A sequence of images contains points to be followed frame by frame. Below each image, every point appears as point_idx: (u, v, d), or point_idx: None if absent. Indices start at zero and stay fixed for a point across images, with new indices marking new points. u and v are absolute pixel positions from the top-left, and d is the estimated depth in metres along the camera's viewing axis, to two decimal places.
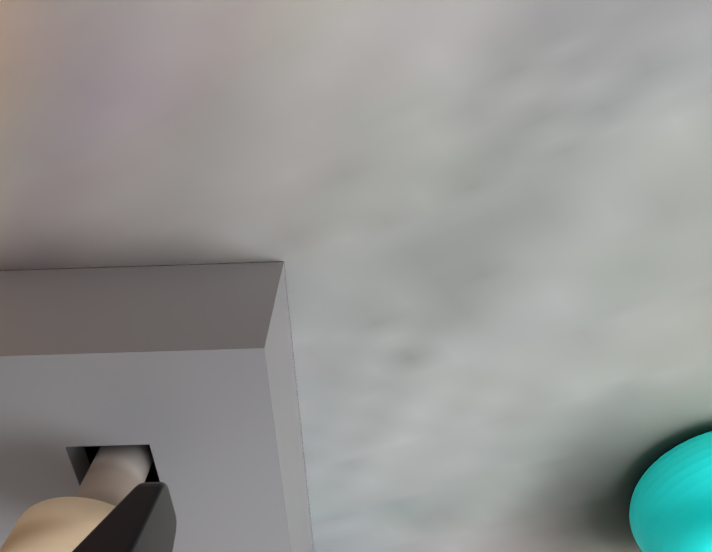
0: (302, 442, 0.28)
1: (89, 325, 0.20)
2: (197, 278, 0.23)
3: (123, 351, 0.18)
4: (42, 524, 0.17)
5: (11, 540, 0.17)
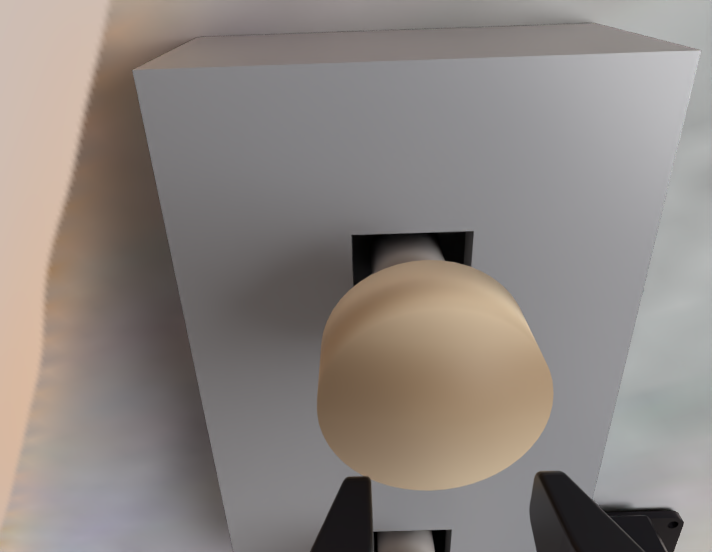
0: None
1: (397, 49, 0.14)
2: (495, 30, 0.16)
3: (482, 59, 0.12)
4: (414, 286, 0.10)
5: (368, 309, 0.10)
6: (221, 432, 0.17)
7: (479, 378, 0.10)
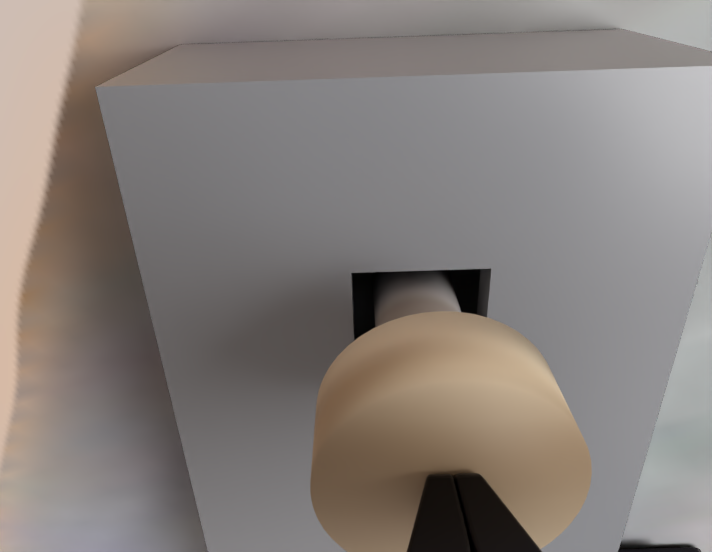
0: None
1: (404, 61, 0.12)
2: (512, 38, 0.15)
3: (504, 74, 0.10)
4: (426, 347, 0.09)
5: (372, 376, 0.09)
6: (206, 485, 0.15)
7: (504, 457, 0.09)
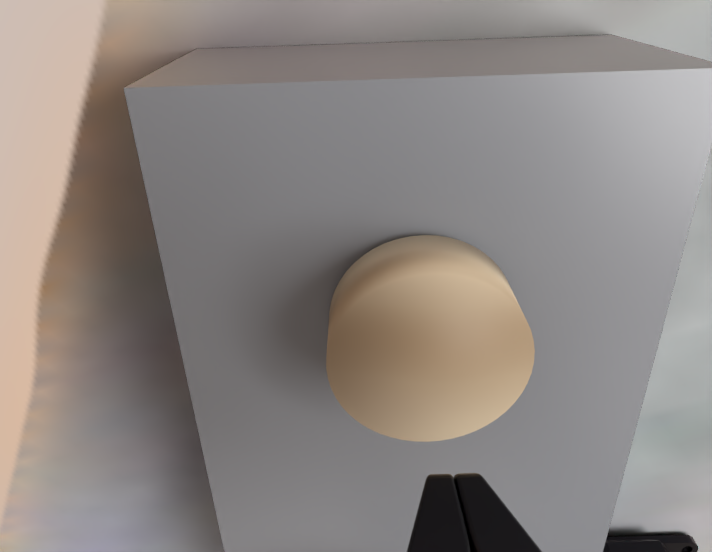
0: None
1: (405, 65, 0.13)
2: (507, 43, 0.15)
3: (497, 76, 0.11)
4: (412, 256, 0.12)
5: (372, 276, 0.12)
6: (219, 463, 0.16)
7: (469, 337, 0.12)
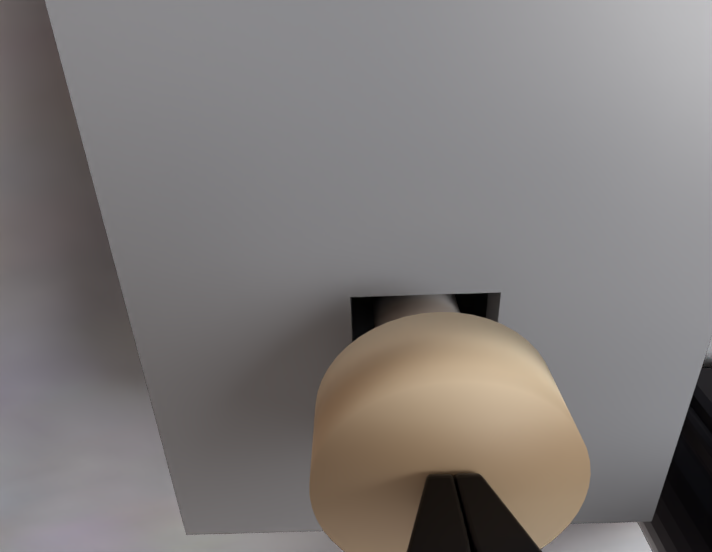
0: None
1: None
2: None
3: None
4: None
5: None
6: (83, 54, 0.09)
7: None
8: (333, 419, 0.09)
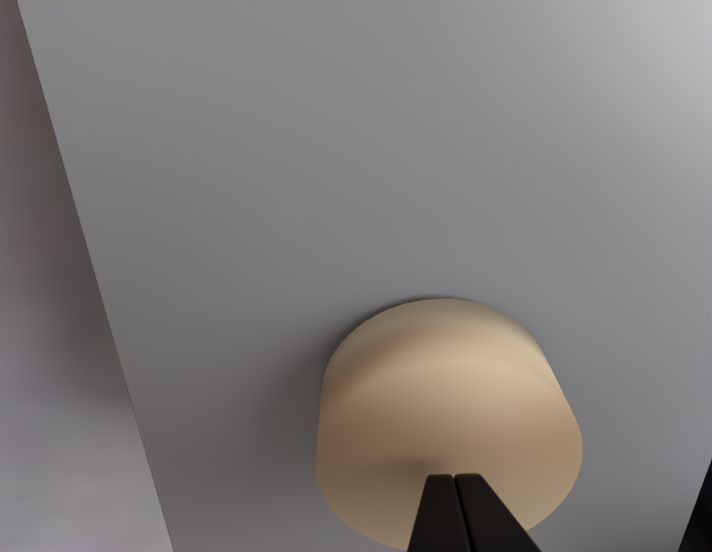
0: None
1: None
2: None
3: None
4: None
5: None
6: (63, 69, 0.08)
7: None
8: (339, 398, 0.09)
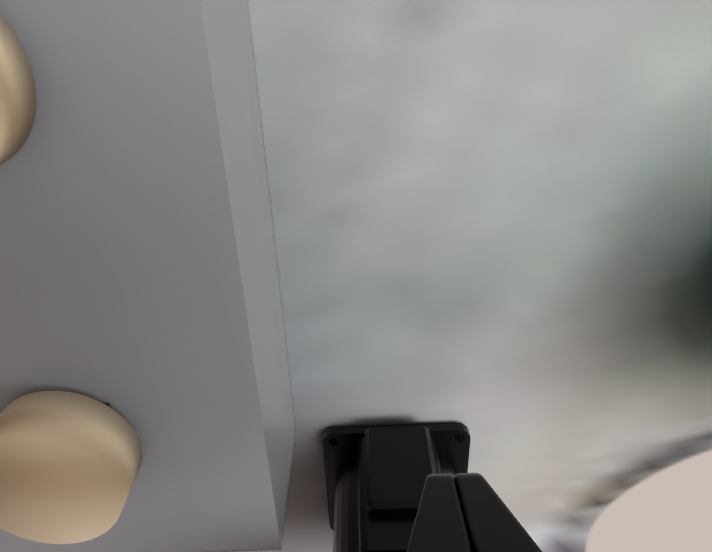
0: (266, 174, 0.20)
1: None
2: None
3: None
4: None
5: None
6: None
7: None
8: None
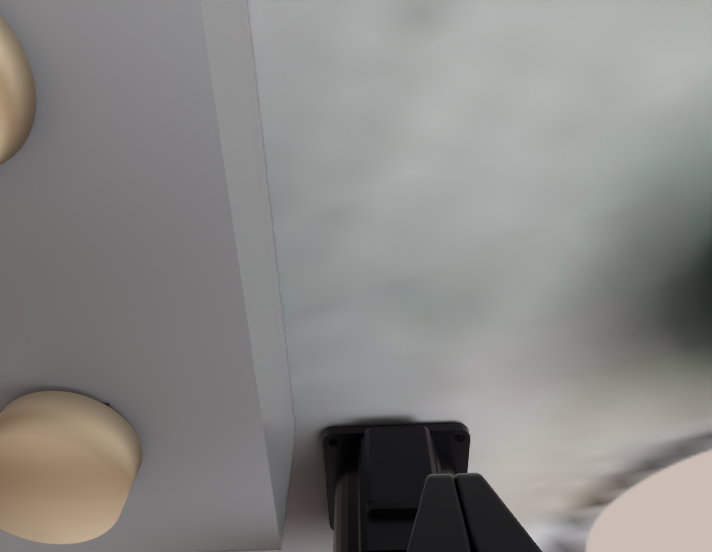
0: (266, 174, 0.20)
1: None
2: None
3: None
4: None
5: None
6: None
7: None
8: None
